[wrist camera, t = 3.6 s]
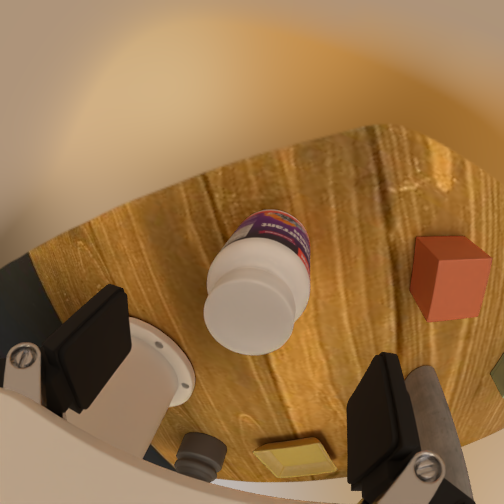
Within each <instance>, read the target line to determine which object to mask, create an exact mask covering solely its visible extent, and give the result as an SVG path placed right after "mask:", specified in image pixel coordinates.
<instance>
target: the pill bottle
mask: <svg viewBox="0 0 504 504" xmlns="http://www.w3.org/2000/svg"><path fill="white" fill-rule="evenodd" d="M207 291H208V297H207V299H206V302H205V305H204V320H205V323H206V326H207V328H208V330H209V332H210V333H211V335H212V336H213V337H214V338H215V340H216V341H218V342H219V343H220V344H221V345H223V346H224V347H226V348H228V349H229V350H232V351H234V352H237V353H240V354H245V355H263V354H267V353H271V352H273V351H275V350H277V349H278V348H280V347H281V346H282V345H284V343H285V342H286V341H287V340H288V339H289V337H290V335H291V333H292V330H293V326H294V322H295V321H296V320H297V319H298V318H299V317H300V316H301V314H302V313H303V311H304V310H305V308H306V305H307V303H308V300H309V294H310V242H309V237H308V234H307V232H306V230H305V228H304V227H303V225H302V224H301V223H300V222H299V221H298V220H297V219H296V218H295V217H293V216H292V215H290V214H288V213H286V212H283V211H280V210H273V209H269V210H262V211H259V212H256V213H254V214H252V215H250V216H249V217H248V218H246V219H245V220H244V221H243V222H242V223H241V225H240V226H239V227H238V228H237V230H236V231H235V232H234V233H233V235H232V236H231V237H230V239H229V240H228V241H227V243H226V244H225V245H224V247H223V248H222V249H221V250H220V252H219V253H218V254H217V256H216V257H215V259H214V261H213V262H212V264H211V266H210V269H209V272H208V276H207Z"/></svg>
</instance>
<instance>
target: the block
mask: <svg viewBox="0 0 504 504" xmlns="http://www.w3.org/2000/svg"><path fill="white" fill-rule="evenodd" d="M491 264H492V258H491V257H490V256H489V255H488V254H486V253H485V252H484V251H483V250H481V249H480V248H479V247H478V246H476V245H475V244H474V243H473V242H471V241H470V240H469V239H467V238H466V237H465V236H431V237H416V244H415V254H414V262H413V270H412V278H411V285H410V292H411V294H412V296H413V297H414V299H415V301H416V303H417V305H418V306H419V308H420V310H421V312H422V314H423V316H424V318H425V319H426V321H427V322H436V321H446V320H455V319H463V318H471V317H478V315H479V312H480V308H481V305H482V301H483V298H484V294H485V290H486V286H487V282H488V277H489V273H490V268H491Z"/></svg>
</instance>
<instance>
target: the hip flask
mask: <svg viewBox="0 0 504 504" xmlns="http://www.w3.org/2000/svg"><path fill="white" fill-rule="evenodd" d="M405 385H406V389H407V391H408V392H409V395H410V398H411V403H412V407H413V411H414V416H415V420H416V425H417V430H418V435H419V440H420V445H421V451H424V450H428V451H433V452H435V453H437V454H438V455H439V456H440V457H441V458H442V459H443V461H444V463H445V467H446V472H445V476H444V478H445V479H447V480H448V481H449V482H450V483H452V484H453V485H454V486H456V487H457V488H458V489H460V490H461V491H462V492H463V493H465V494H466V495H467V496H469V497H470V498H471V499H472V500H473V494H472V490H471V485H470V480H469V476H468V471H467V467H466V463H465V460H464V456H463V452H462V449H461V445H460V442H459V438H458V435H457V432H456V428H455V425H454V422H453V419H452V416H451V413H450V410H449V407H448V404H447V401H446V399H445V396H444V393H443V390H442V388H441V385H440V383H439V380H438V377H437V375H436V372H435V370H434V368H433V367H431V366H422V367H419V368H417V369H415V370H414V371H412V372H411V373H410V374H409V376H408V377H407V378H406V380H405ZM473 501H474V500H473Z"/></svg>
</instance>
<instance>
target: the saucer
mask: <svg viewBox="0 0 504 504" xmlns="http://www.w3.org/2000/svg"><path fill="white" fill-rule="evenodd" d="M253 454H254V455H255V456H256V457H257V458H258V459H259V460H260V461H261V462H262V463H263V464H264V465H265V466H266V467H267V468H268V469H269V470H270V471H271V472H272V473H273V474H274V475H275V476H276V477H277V478H290V477H299V476H308V475H316V474H323V473H329V472H335V471H336V470H337V468H336V466H335V465H334V463H333V461H332V460H331V458H330V457H329V455H328V453H327V452H326V450H325V449H324V447H323V445H322V444H321V442H320V441H319V440H318V439H317V438H315V437H309V438H303V439H297V440H290V441H283V442H275V443H268V444H265V445H263V446H260V447H258V448H257V449H255V450H254V451H253Z"/></svg>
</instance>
